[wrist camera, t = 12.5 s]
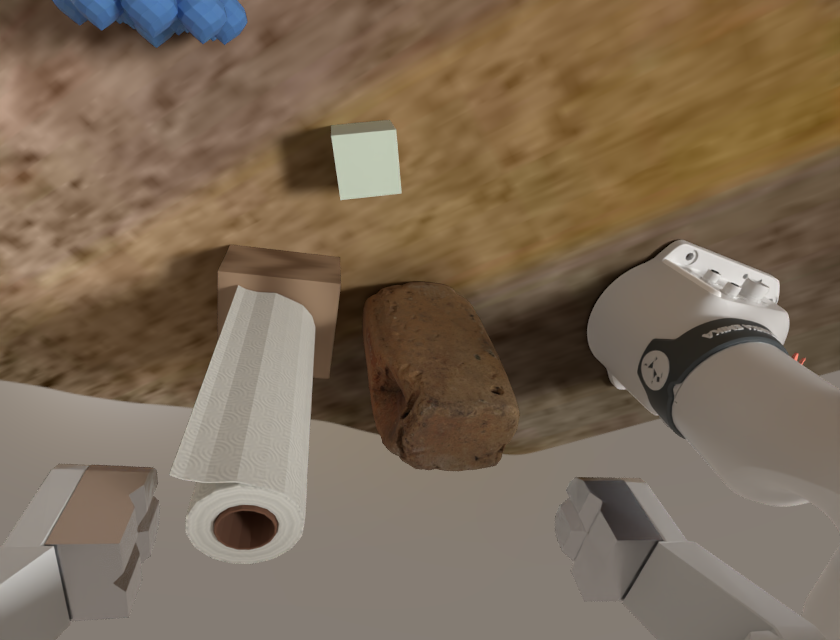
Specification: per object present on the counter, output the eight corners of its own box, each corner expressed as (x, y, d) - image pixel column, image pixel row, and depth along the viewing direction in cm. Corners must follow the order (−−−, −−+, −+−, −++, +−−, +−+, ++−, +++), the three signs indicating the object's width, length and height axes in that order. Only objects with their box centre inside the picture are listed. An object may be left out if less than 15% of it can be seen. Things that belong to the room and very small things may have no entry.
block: (469, 283, 53) (536, 406, 35) (454, 345, 56) (508, 484, 39) (364, 272, 50) (382, 398, 33) (355, 337, 54) (366, 482, 36)
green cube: (389, 119, 44) (396, 129, 39) (395, 178, 46) (401, 193, 42) (331, 125, 43) (331, 135, 39) (339, 183, 46) (340, 199, 41)
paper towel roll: (317, 353, 47) (309, 561, 28) (249, 356, 46) (194, 573, 28) (312, 281, 43) (298, 467, 25) (238, 284, 42) (167, 478, 24)
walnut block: (339, 257, 49) (340, 283, 44) (329, 345, 54) (329, 378, 48) (230, 244, 47) (217, 271, 42) (228, 337, 51) (217, 371, 46)
